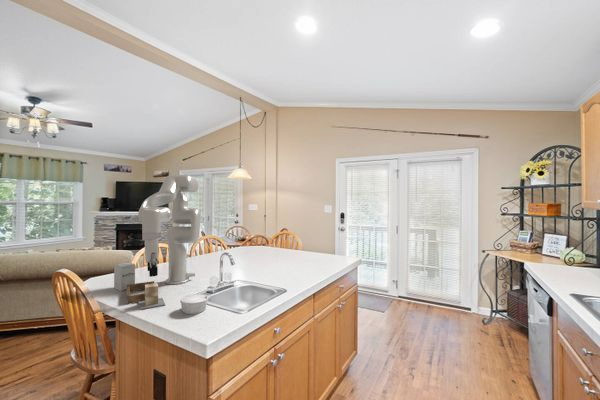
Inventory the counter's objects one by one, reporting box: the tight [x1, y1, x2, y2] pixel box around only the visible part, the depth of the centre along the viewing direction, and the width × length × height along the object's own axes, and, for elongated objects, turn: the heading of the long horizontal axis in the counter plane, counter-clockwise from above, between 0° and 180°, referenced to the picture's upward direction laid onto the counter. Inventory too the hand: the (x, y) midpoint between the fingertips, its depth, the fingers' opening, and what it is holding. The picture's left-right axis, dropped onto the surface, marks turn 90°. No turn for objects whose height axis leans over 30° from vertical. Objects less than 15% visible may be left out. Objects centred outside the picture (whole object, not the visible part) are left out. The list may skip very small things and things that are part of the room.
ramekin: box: [179, 293, 209, 315], centre depth 124 cm, size 11×11×5 cm
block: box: [144, 282, 159, 306], centre depth 131 cm, size 5×5×8 cm
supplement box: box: [113, 262, 136, 291], centre depth 154 cm, size 7×7×13 cm
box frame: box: [126, 280, 155, 305], centre depth 143 cm, size 12×20×4 cm, turn 32°
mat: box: [137, 297, 166, 311], centre depth 131 cm, size 10×10×1 cm
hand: (152, 273), depth 131 cm, fingers open, 9 cm apart
